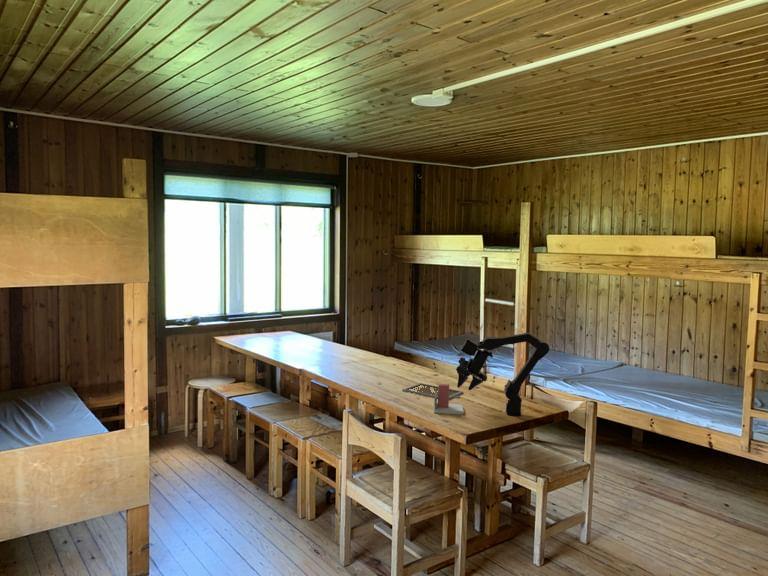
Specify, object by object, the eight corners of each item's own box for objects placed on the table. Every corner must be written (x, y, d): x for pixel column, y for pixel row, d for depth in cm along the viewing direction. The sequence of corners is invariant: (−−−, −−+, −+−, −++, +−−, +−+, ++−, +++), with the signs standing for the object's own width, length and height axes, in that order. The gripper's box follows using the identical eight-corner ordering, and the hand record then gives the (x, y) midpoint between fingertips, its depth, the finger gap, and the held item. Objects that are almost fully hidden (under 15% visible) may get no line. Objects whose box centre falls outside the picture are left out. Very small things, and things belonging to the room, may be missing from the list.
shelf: (462, 407, 282) (462, 392, 282) (463, 414, 271) (464, 399, 270) (433, 405, 283) (434, 391, 283) (434, 412, 272) (434, 397, 271)
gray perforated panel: (420, 382, 325) (467, 392, 308) (420, 385, 325) (467, 395, 308) (402, 389, 309) (451, 399, 292) (401, 392, 309) (451, 402, 292)
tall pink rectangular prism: (447, 406, 279) (449, 383, 278) (448, 408, 275) (449, 385, 274) (437, 405, 279) (438, 383, 278) (437, 407, 275) (439, 385, 275)
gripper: (478, 356, 287) (463, 382, 289) (456, 349, 274) (441, 377, 276) (494, 367, 279) (478, 394, 281) (472, 360, 266) (456, 389, 268)
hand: (463, 388), depth 277 cm, fingers open, 9 cm apart
